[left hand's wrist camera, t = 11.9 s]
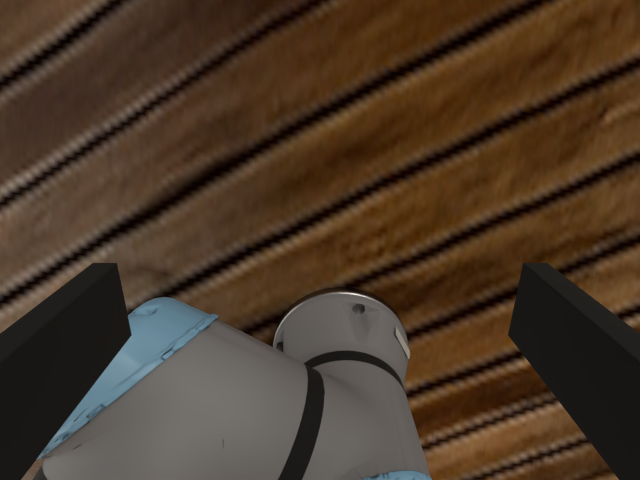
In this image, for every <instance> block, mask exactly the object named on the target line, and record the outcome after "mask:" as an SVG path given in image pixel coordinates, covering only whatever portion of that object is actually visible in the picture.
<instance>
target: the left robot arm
mask: <svg viewBox="0 0 640 480" xmlns="http://www.w3.org/2000/svg"><path fill="white" fill-rule="evenodd" d="M218 317H219V316H218V315H216V314H207V313H205V312H203V311H201V310H199V309H196V308H194V307H192V306H190V305H187V304H185V303H183V302H181V301H178V300H176V299H173V298H168V297H160V298H155V299H152V300H149V301H147V302H146V303H144V304H142V305H141V306H139V307H138V308H137V309H135V310H134V311H133V312H132V313H131V314H130V315H127V310H126V305H125V300H124V296H123V291H122V286H121V281H120V276H119V272H118V267H117V263H92V264H91V265H90V266H88V267H87V268H86V269H85V270H83V271H82V272H81V273H79V274H78V275H77V276H75V277H74V278H73V279H71V280H70V281H69V282H68V283H66V284H65V285H64V286H62V287H61V288H60V289H58V290H57V291H56V292H54V293H53V294H52V295H50V296H49V297H48V298H47V299H45V300H44V301H43V302H41V303H40V304H39V305H37V306H36V307H35V308H33V309H32V310H31V311H29V312H28V313H27V314H26V315H24V316H23V317H22V318H20V319H19V320H18V321H16V322H15V323H14V324H12V325H11V326H10V327H8V328H7V329H6V330H5V331H3V332H2V333H1V334H0V480H21V479H22V477H23V476H24V475H25V473H26V472H27V471H28V470H29V468H30V467H31V466H32V464H33V463H34V462H35V460H36V459H39V460H40V459H42V458H43V459H45V460H44V463H43V465H42V466H41V468H40V469H39V471H38V472H37V474H36V475H35V477H34V478H33V480H432V479H431V476H430V473H429V470H428V466H427V463H426V460H425V456H424V453H423V450H422V447H421V443H420V440H419V437H418V433H417V430H416V427H415V423H414V420H413V417H412V413H411V410H410V407H409V403H408V400H407V397H406V394H405V390H404V383H405V377H406V370H407V364H408V358H409V356H410V351H409V349H408V341H407V336H406V333H405V330H404V327H403V324H402V322H401V320H400V318H399V316H398V315H397V313H396V312H395V311H394V310H393V309H392V308H391V307H390V306H389V305H388V304H387V303H386V302H385V301H383V300H382V299H380V298H379V297H377V296H375V295H373V294H371V293H368V292H366V291H362V290H358V289H353V288H329V289H324V290H320V291H317V292H314V293H311V294H309V295H307V296H305V297H303V298H302V299H300V300H299V301H297V302H296V303H294V304H293V305H292V306H291V307H290V308H289V309H288V310H287V311H286V312H285V314H284V315H283V317H282V318H281V320H280V322H279V324H278V326H277V329H276V332H275V337H274V342H273V347H271V346H269V345H267V344H265V343H263V342H261V341H259V340H257V339H256V338H254V337H252V336H250V335H248V334H246V333H244V332H242V331H240V330H238V329H236V328H234V327H232V326H230V325H228V324H226V323H224V322H222V321H220V320H218V319H217V318H218ZM508 335H509V337H510V338H511V339H512V341H513V342H514V343H515V345H516V346H517V347H518V348H519V350H520V351H521V352H522V354H523V355H524V356H525V358H526V359H527V360H528V362H529V363H530V364H531V365H532V367H533V368H534V369H535V371H536V372H537V373H538V375H539V376H540V377H541V378H542V380H543V381H544V382H545V384H546V385H547V386H548V388H549V389H550V390H551V391H552V393H553V394H554V395H555V397H556V398H557V399H558V401H559V402H560V403H561V404H562V406H563V407H564V408H565V410H566V411H567V412H568V414H569V415H570V416H571V418H572V419H573V420H574V421H575V423H576V424H577V425H578V427H579V428H580V429H581V431H582V432H583V433H584V434H585V436H586V437H587V438H588V440H589V441H590V442H591V444H592V445H593V446H594V447H595V449H596V450H597V451H598V453H599V454H600V455H601V457H602V458H603V459H604V460H605V462H606V463H607V464H608V466H609V467H610V468H611V470H612V471H613V472H614V473H615V475H616V476H617V477H618V479H619V480H640V334H639V333H638V332H637V331H635V330H634V329H633V328H632V327H630V326H629V325H628V324H626V323H625V322H624V321H622V320H621V319H620V318H618V317H617V316H616V315H614V314H613V313H612V312H611V311H609V310H608V309H607V308H605V307H604V306H603V305H601V304H600V303H599V302H597V301H596V300H595V299H593V298H592V297H591V296H590V295H588V294H587V293H586V292H584V291H583V290H582V289H580V288H579V287H578V286H576V285H575V284H574V283H572V282H571V281H570V280H569V279H567V278H566V277H565V276H563V275H562V274H561V273H559V272H558V271H557V270H555V269H554V268H553V267H552V266H550V265H549V264H548V263H523V267H522V272H521V276H520V281H519V286H518V291H517V296H516V300H515V305H514V310H513V315H512V319H511V324H510V329H509V334H508Z"/></svg>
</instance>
